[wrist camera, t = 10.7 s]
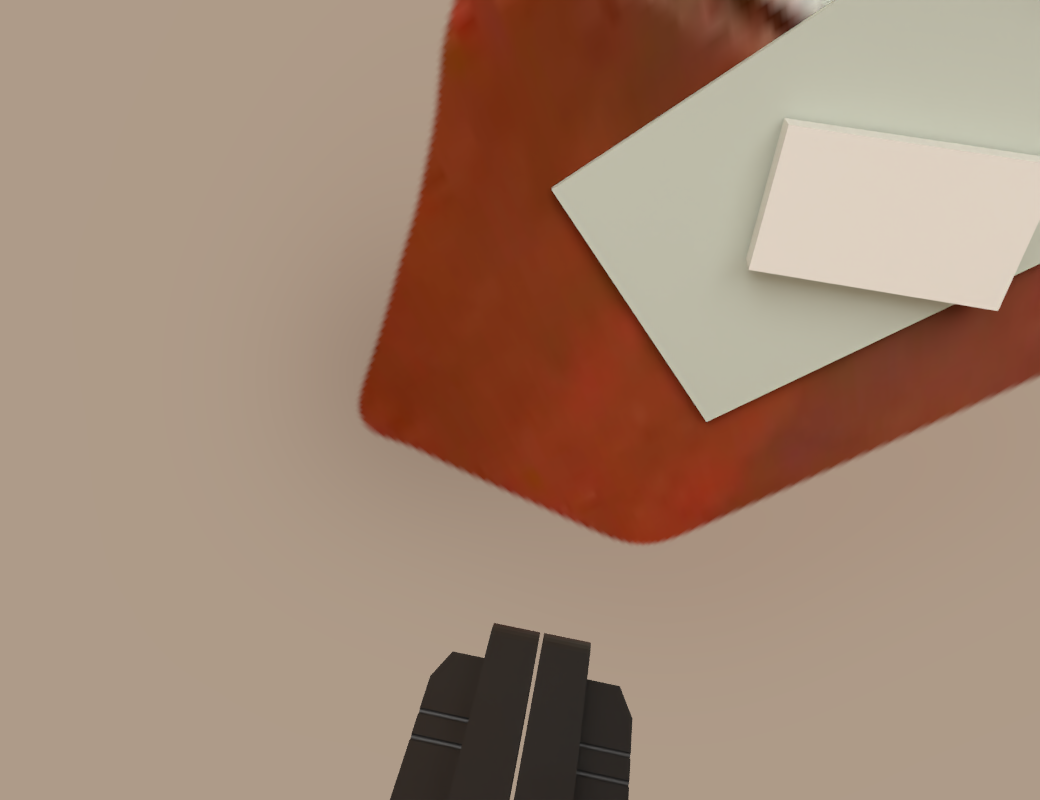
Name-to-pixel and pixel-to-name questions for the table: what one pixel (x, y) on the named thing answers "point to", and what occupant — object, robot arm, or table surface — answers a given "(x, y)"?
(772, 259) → the tile
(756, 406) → the table surface
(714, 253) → the mat
